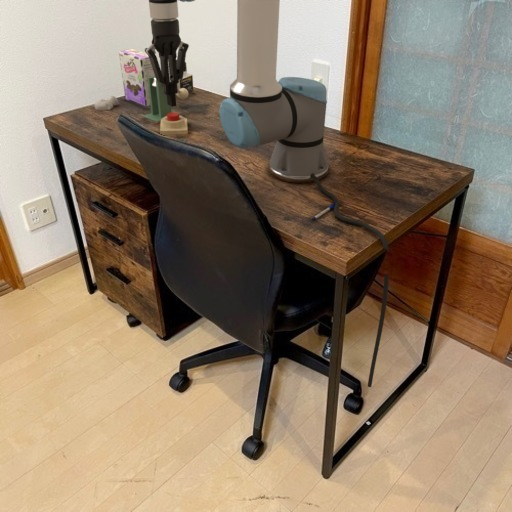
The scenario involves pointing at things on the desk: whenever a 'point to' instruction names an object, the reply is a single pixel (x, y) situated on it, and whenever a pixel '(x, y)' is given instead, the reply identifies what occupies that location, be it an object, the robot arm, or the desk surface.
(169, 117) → the button
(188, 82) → the medicine bottle
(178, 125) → the button box
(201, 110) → the desk surface
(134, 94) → the candy box
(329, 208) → the ballpoint pen
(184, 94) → the lever
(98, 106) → the pale two-lobed sculpture
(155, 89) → the bracket
